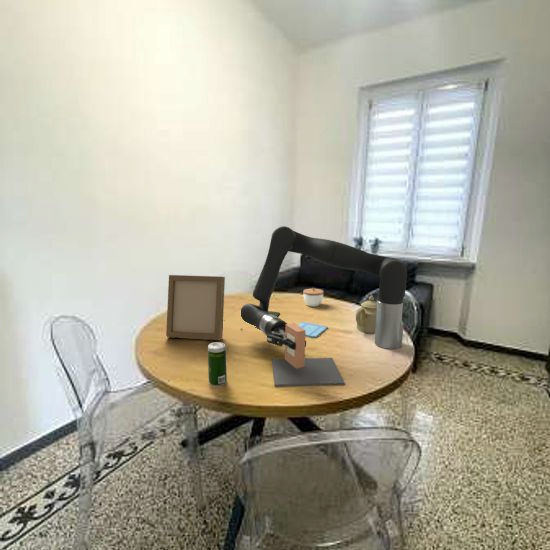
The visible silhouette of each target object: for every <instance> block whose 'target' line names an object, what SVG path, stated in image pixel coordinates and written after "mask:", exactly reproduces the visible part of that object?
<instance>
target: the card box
mask: <svg viewBox="0 0 550 550" xmlns="http://www.w3.org/2000/svg"><path fill="white" fill-rule="evenodd" d="M298 325H299V324H296V323H295V322H291V323H287V324H286V327H285V334H286V336H287V337H288V339H290V340H292V341H293V342H295V343H296V349H295V350H293V349H291V348H289V347H288V346H284V359H285V360H286V361H287V362H289V363H290V364H291V365H292V366H294V367H295V368H300V367H304V361H305V357H306V347H305V340H306V336H305V332H306V330H304V329H303V328H301V327H299V326H298Z"/></svg>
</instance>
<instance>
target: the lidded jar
mask: <svg viewBox="0 0 550 550" xmlns="http://www.w3.org/2000/svg"><path fill="white" fill-rule="evenodd" d="M302 292H303V301H304V303H305V304H306V305H307V306H308V307H312V308H314V307H315V308H316V307H319V306H320V305H321V304H322V302H323V299H324V292H325V291H324V290H323V289H320V288H315V287H312V288H305V289H303V291H302Z"/></svg>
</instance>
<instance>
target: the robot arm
mask: <svg viewBox="0 0 550 550" xmlns="http://www.w3.org/2000/svg"><path fill="white" fill-rule="evenodd" d="M288 253H294V254H300V255H303V256H307V257H309V258H311V259H312V260H313V259H314V260H315V261H318V262H321V263H323V264H325V265H329V266H331V267H335V268H339V269H343V270H348V271H349V270H350V271H360V272H364V273H368V274H371V275H374V276H376V277H378V278H379V285H378V287H379V288H378V293H377V298H376V299H377V300H376V302H377V313H376V328H375V333H374V344H375V345H376V346H377V347H380V348H384V349H388V350H389V349H398V348H402V347H403V334H404V322H403V320H402V318H403V305H404V298H405V296H406V289H407V288H406V287H407V277H408V270H407V267H406V265H405V264H404V263H403V262H402V261H401V260H400V259H398V258H395V257H390V256H384V255H379V254H375V253H370V252H367V251H365V250H362V249H360V248H357V247H355V246H352V245H349V244H347V243H342V242H339V241H336V240H335V241H334V240H331V239H325V238H318V237H311V236H308V235H305V234H302V233H299V232H297V231H295V230H293V229H292V228H291V227H288V226H283V225H282V226H278V227H276V228H275V229H274V230H273V232H272V233H271V238H270V243H269V248H268V253H267V255H266V259H265V261H264V264H263V267H262V269H261V271H260V274H259V276H258V279H257V281H256V284H255V286H254V289H253V291H252V297H253V298H254V299H256V300H257V301H259V305H258V304H257V305H256V304H254V303H253V304H252V303H245V304H244V305H243V306H241V308H240V309H241V317H242V319H243V320H244V321H245V322H247V323H249V324H251V325H254V326H256V327H257V328H258V329H260V330H261V331H262V333H263V334H264V335H265V336H266V342H267V343H269V344H271V345H275V346H277V347H283V346H284V347H285V346H288V347H289V348H291V349H293V350H295V349H296V343H295V342H293V341H292V340H290V339H288V337H287V336H286V334H285V327H286V324H288V323H287V322H286V321H285V320H282V319H281V318H279V317H276V316H274V315H272V314H270V313H269V312H268V311H269V307H270V301H271V300H270V299H271V297H272V294H273V291H274V289H275V286H276V283H277V280H278V277H279V274H280V270H281V267H282V265H283V261H284V259H286V256H287V254H288ZM306 347H307V340H306V339H305V348H306Z"/></svg>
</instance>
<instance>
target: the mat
mask: <svg viewBox="0 0 550 550" xmlns="http://www.w3.org/2000/svg"><path fill="white" fill-rule="evenodd" d="M271 364H272V366H271V367H272V373H273V374H272V375H273V384H274V385H273V386H274V387H298V386H299V387H301V386H302V387H303V386H306V387H307V386H334V385H335V386H336V385H337V386H339V385H342V386H343V385H345V384H346V382H345V381H344V379H343V376H342V374H341V373H340V371H339V368H338V366H337V365H336V363H335V360H334V358H333V357H315V358H314V357H312V358H311V357H308V358H307V357H306V358H305V361H304V367H300V368H295V367H294V366H292V365H291V364H290V363H289V362H287V361H286V360H285V358H272V359H271Z"/></svg>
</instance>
